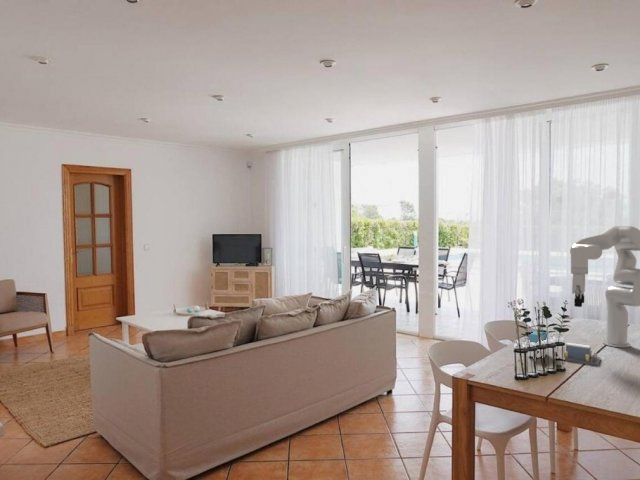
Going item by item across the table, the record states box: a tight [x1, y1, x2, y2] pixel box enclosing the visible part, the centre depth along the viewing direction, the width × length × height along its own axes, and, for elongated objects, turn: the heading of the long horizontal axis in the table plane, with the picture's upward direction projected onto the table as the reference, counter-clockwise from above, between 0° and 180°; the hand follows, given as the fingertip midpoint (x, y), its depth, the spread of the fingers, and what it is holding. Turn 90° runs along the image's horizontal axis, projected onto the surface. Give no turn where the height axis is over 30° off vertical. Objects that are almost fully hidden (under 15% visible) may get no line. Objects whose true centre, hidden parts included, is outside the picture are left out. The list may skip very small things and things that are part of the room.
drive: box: [565, 342, 592, 360], centre depth 228 cm, size 4×10×6 cm, turn 53°
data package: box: [528, 330, 548, 354], centre depth 234 cm, size 12×4×12 cm, turn 133°
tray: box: [564, 350, 602, 367], centre depth 228 cm, size 12×18×4 cm, turn 54°
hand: (579, 304), depth 235 cm, fingers open, 9 cm apart
